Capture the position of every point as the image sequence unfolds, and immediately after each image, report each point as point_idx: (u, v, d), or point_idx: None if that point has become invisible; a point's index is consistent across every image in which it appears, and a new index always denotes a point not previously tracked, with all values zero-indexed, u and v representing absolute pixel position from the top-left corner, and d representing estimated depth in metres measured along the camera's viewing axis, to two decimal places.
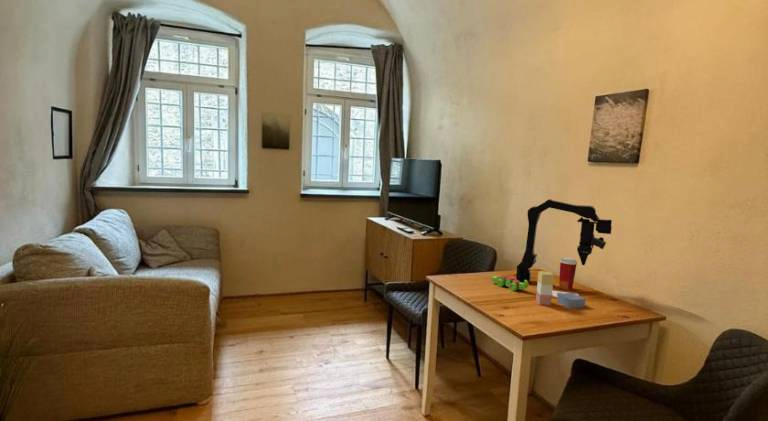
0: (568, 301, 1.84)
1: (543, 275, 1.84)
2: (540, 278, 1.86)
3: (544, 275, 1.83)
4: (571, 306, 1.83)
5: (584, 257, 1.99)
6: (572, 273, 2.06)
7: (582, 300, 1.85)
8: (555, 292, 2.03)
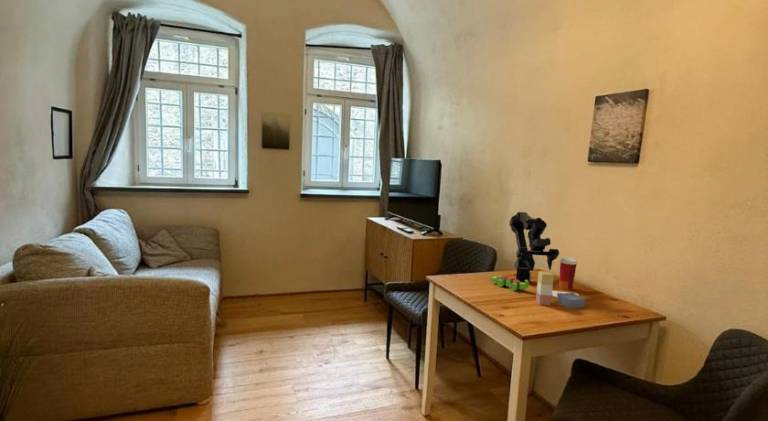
0: (568, 301, 1.84)
1: (543, 275, 1.84)
2: (540, 278, 1.86)
3: (544, 275, 1.83)
4: (571, 306, 1.83)
5: (526, 260, 1.97)
6: (572, 273, 2.06)
7: (582, 300, 1.85)
8: (555, 292, 2.03)
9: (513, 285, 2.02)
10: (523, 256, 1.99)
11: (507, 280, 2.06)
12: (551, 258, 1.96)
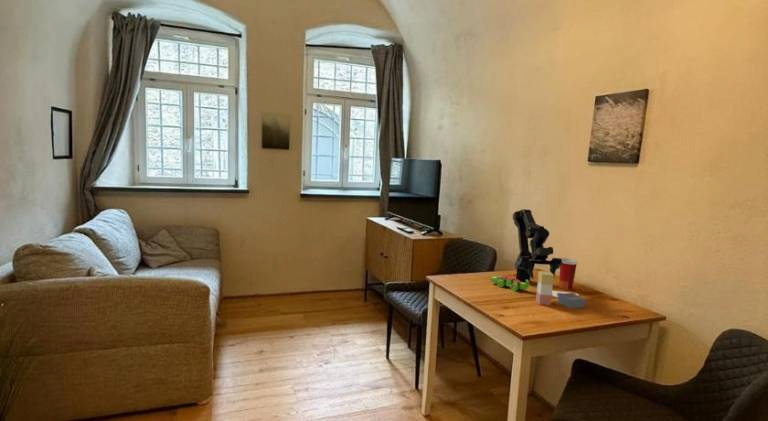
0: (567, 301, 1.84)
1: (543, 275, 1.84)
2: (540, 278, 1.86)
3: (544, 275, 1.83)
4: (570, 306, 1.83)
5: (528, 269, 1.92)
6: (572, 273, 2.06)
7: (582, 300, 1.84)
8: (555, 292, 2.03)
9: (514, 285, 2.02)
10: (525, 265, 1.94)
11: (507, 280, 2.06)
12: (554, 267, 1.91)
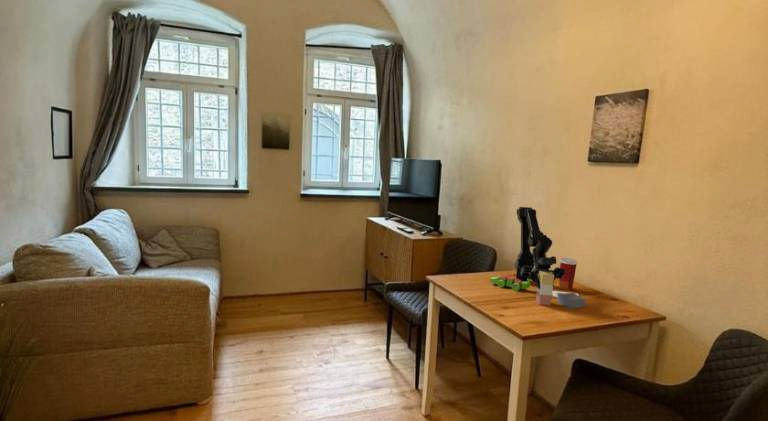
0: (567, 301, 1.84)
1: (543, 275, 1.83)
2: (540, 278, 1.85)
3: (544, 275, 1.83)
4: (570, 306, 1.83)
5: (535, 280, 1.88)
6: (572, 273, 2.06)
7: (582, 300, 1.84)
8: (555, 292, 2.03)
9: (516, 285, 2.03)
10: (532, 275, 1.90)
11: (508, 280, 2.06)
12: None
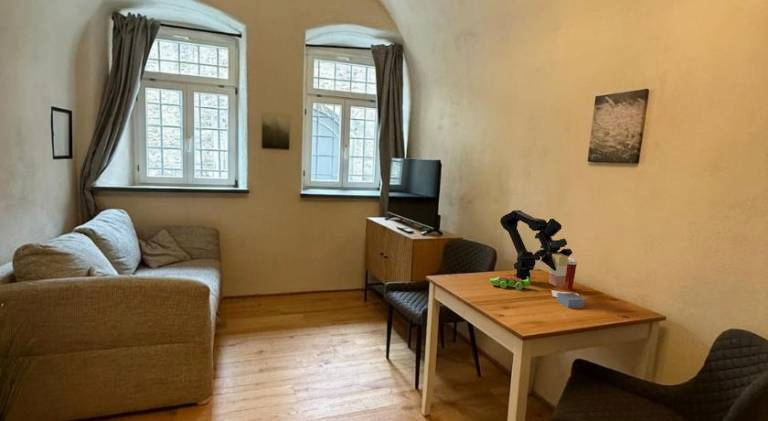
0: (567, 301, 1.84)
1: (560, 257, 1.91)
2: (556, 260, 1.93)
3: (561, 257, 1.91)
4: (569, 306, 1.83)
5: (550, 262, 1.95)
6: (572, 273, 2.06)
7: (581, 300, 1.84)
8: (555, 292, 2.03)
9: (519, 284, 2.04)
10: (545, 258, 1.96)
11: (510, 280, 2.07)
12: None
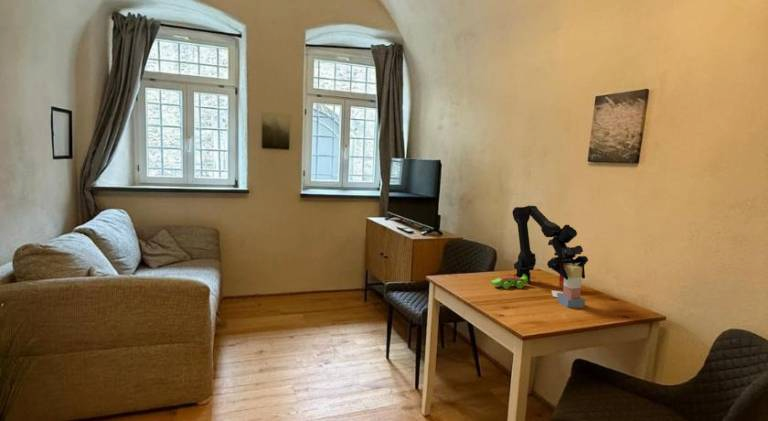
0: (566, 301, 1.84)
1: (574, 269, 1.82)
2: (569, 272, 1.84)
3: (574, 269, 1.83)
4: (569, 306, 1.84)
5: (561, 271, 1.85)
6: None
7: (581, 301, 1.84)
8: (555, 292, 2.03)
9: (521, 283, 2.07)
10: (556, 266, 1.87)
11: (511, 280, 2.07)
12: (582, 266, 1.89)
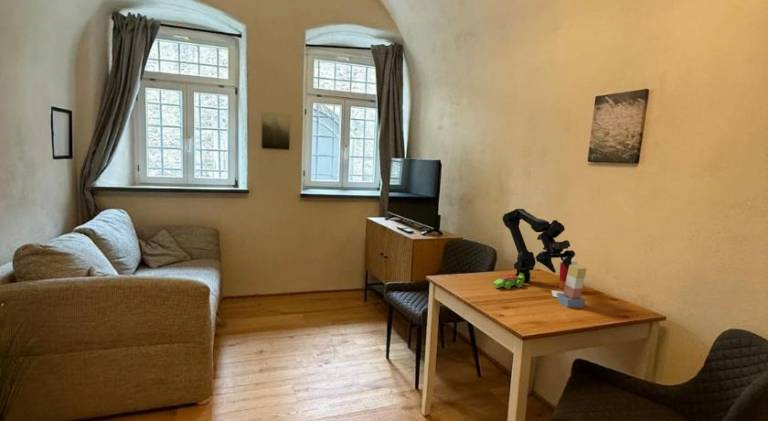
0: (566, 301, 1.84)
1: (579, 269, 1.82)
2: (573, 272, 1.83)
3: (579, 269, 1.82)
4: (569, 306, 1.84)
5: (549, 264, 1.93)
6: None
7: (581, 301, 1.84)
8: (555, 292, 2.03)
9: (520, 282, 2.09)
10: (545, 260, 1.94)
11: (512, 279, 2.08)
12: (570, 260, 1.96)
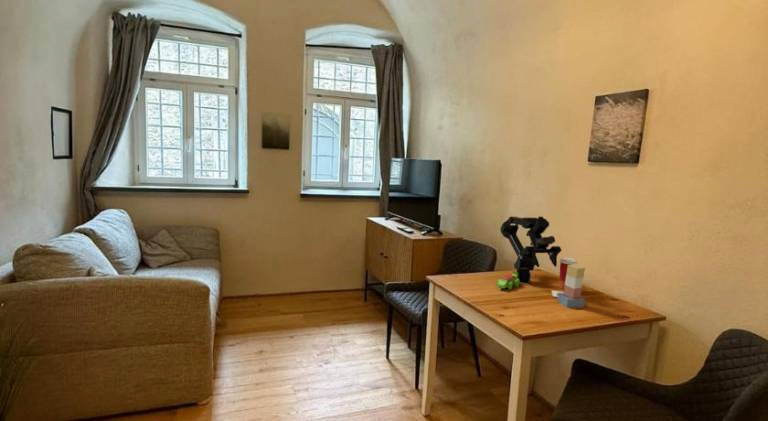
0: (566, 301, 1.85)
1: (578, 269, 1.82)
2: (573, 272, 1.84)
3: (578, 269, 1.82)
4: (568, 306, 1.84)
5: (533, 259, 2.00)
6: None
7: (581, 301, 1.84)
8: (555, 292, 2.03)
9: (518, 280, 2.11)
10: (529, 255, 2.01)
11: (512, 279, 2.09)
12: (555, 255, 2.02)
